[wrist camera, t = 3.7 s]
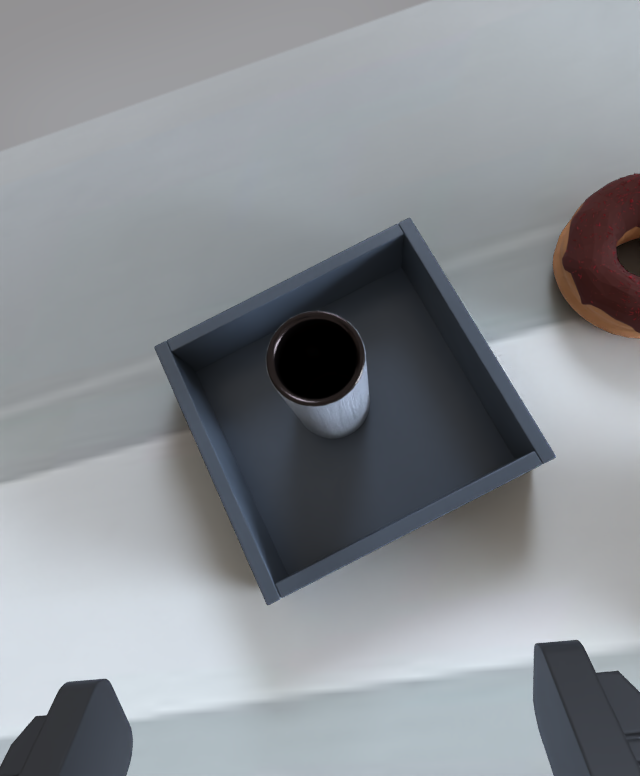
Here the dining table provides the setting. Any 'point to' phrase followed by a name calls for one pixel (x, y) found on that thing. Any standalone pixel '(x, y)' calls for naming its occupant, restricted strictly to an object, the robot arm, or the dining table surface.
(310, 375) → the white and black tumbler
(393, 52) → the dining table surface
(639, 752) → the robot arm
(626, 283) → the donut
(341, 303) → the dark grey open tray
